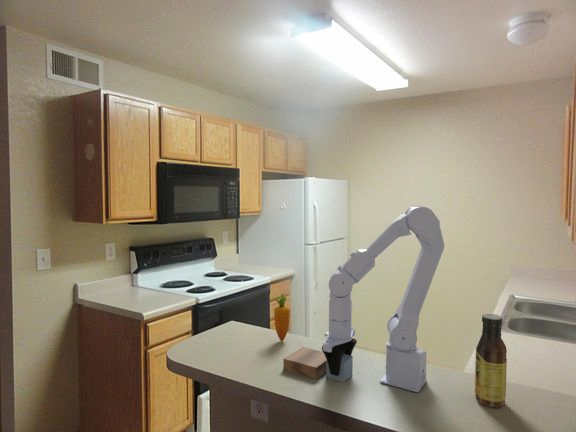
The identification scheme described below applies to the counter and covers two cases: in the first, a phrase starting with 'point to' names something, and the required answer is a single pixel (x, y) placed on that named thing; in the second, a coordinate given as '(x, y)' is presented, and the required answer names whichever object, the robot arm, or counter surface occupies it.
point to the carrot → (281, 318)
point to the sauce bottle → (491, 363)
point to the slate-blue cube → (342, 369)
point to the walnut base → (306, 363)
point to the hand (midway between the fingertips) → (339, 370)
